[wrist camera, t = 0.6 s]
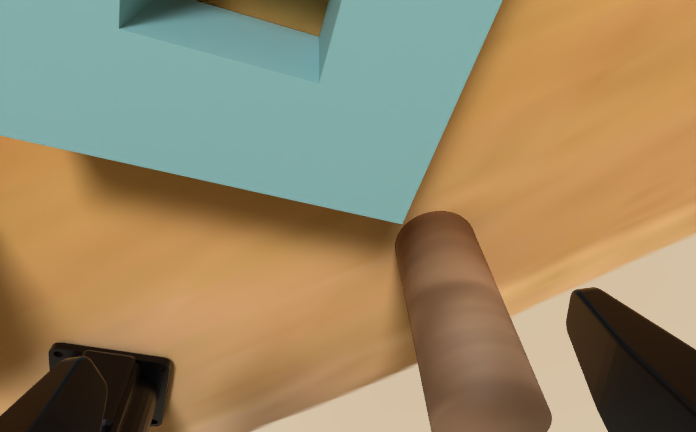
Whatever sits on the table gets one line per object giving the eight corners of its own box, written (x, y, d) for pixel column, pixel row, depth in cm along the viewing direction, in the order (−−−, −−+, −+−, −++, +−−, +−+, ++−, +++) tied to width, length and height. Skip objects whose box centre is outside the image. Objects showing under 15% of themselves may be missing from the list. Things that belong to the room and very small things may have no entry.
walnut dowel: (454, 279, 26) (516, 465, 18) (384, 265, 25) (414, 453, 17) (487, 220, 24) (574, 402, 16) (411, 203, 23) (462, 385, 15)
